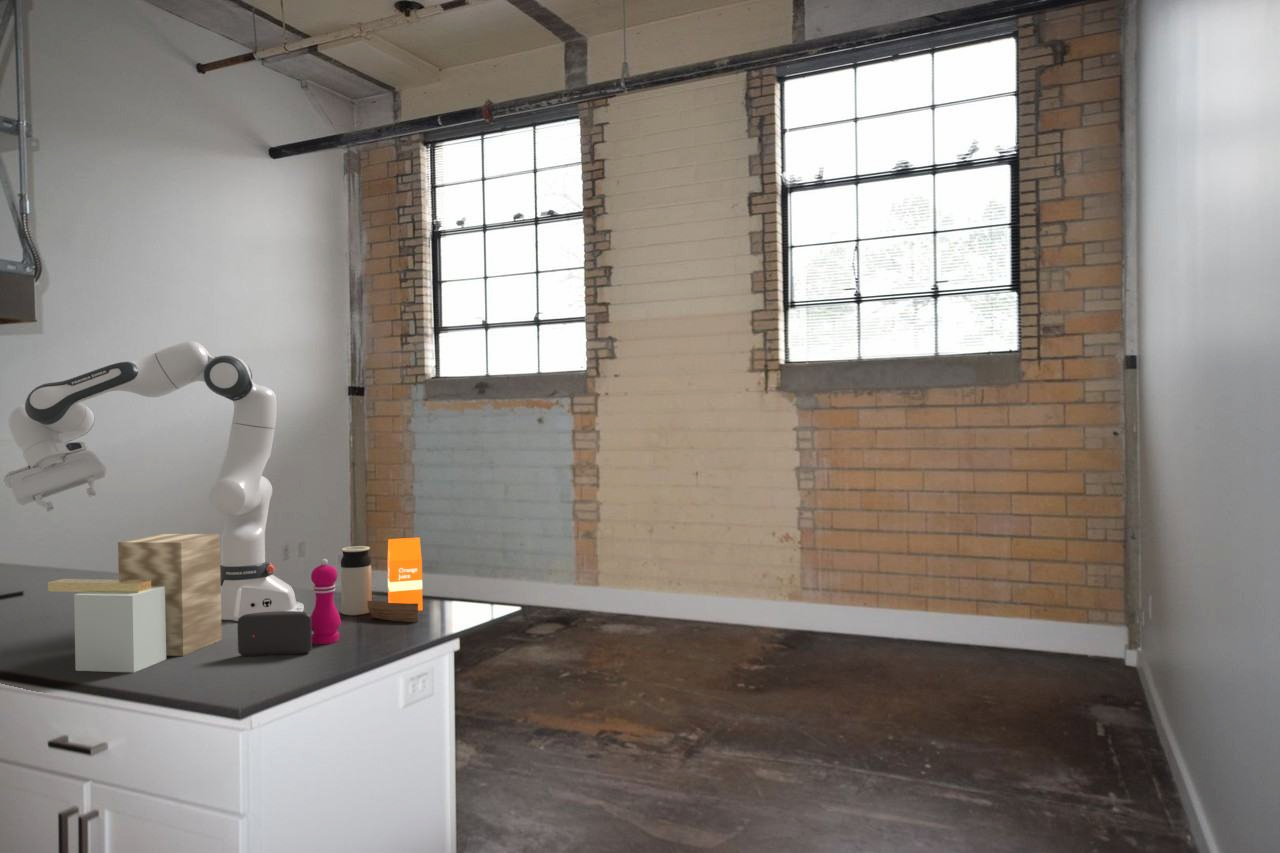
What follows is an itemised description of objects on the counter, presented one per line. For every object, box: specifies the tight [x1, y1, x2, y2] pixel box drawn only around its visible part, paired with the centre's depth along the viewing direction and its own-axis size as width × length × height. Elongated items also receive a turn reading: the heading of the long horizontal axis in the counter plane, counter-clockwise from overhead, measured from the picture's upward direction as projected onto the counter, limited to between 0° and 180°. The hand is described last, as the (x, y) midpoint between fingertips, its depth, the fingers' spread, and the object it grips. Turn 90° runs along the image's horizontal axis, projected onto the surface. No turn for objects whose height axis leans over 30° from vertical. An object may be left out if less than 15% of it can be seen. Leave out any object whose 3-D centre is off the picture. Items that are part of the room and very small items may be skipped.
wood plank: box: [367, 600, 419, 623], centre depth 228 cm, size 15×2×5 cm, turn 71°
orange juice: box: [387, 537, 423, 612], centre depth 241 cm, size 8×9×20 cm
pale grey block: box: [73, 586, 167, 673], centre depth 189 cm, size 14×10×16 cm
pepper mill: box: [310, 558, 342, 645], centre depth 207 cm, size 7×7×20 cm
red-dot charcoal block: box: [237, 611, 313, 657], centre depth 197 cm, size 16×5×9 cm, turn 96°
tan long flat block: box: [47, 578, 151, 593], centre depth 189 cm, size 22×4×2 cm, turn 82°
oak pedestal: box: [117, 533, 223, 657], centre depth 203 cm, size 16×14×26 cm
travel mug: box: [340, 545, 373, 616], centre depth 237 cm, size 8×8×18 cm
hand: (71, 502), depth 214 cm, fingers open, 8 cm apart
